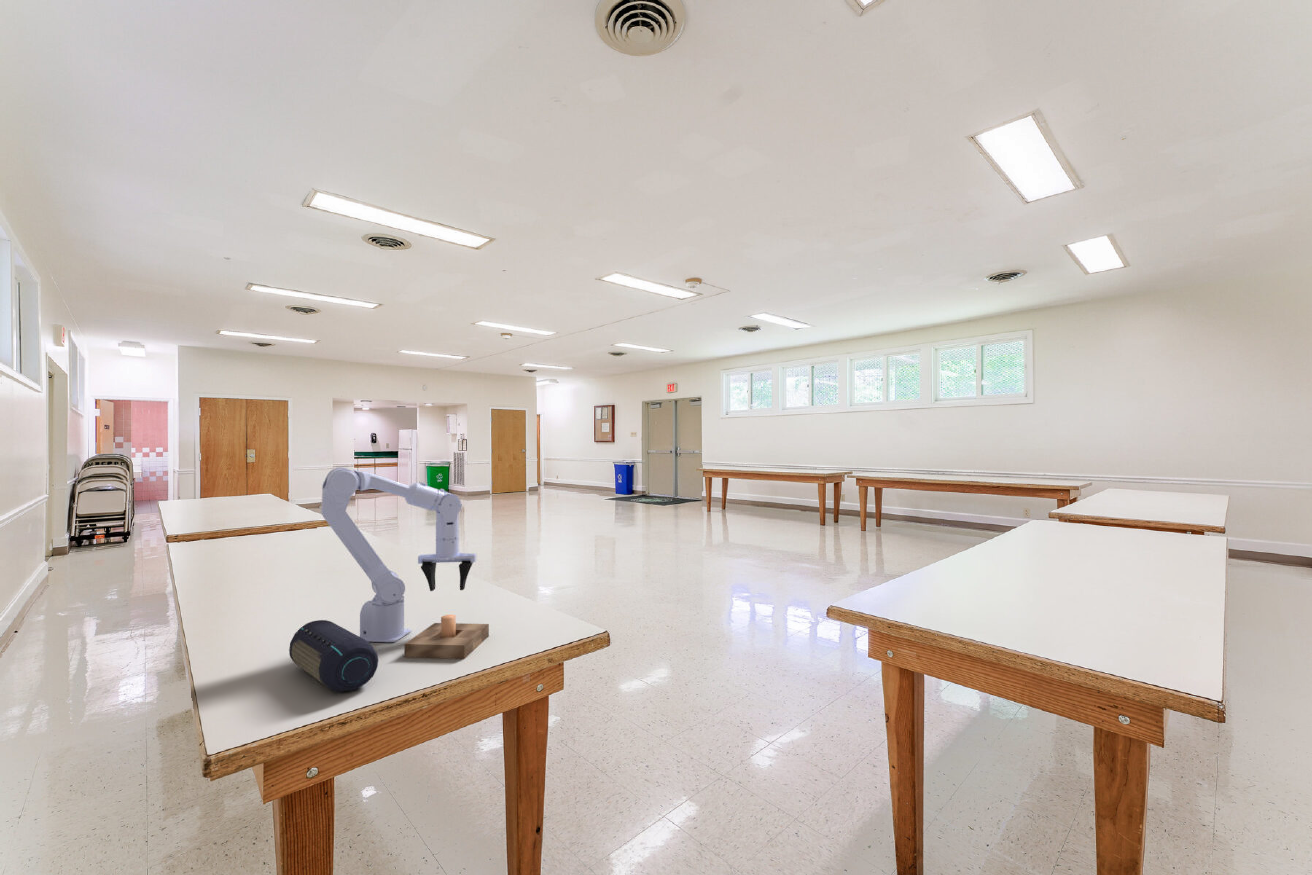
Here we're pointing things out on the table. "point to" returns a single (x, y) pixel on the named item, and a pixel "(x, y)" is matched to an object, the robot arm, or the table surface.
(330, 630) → the portable speaker
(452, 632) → the peg
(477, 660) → the table surface
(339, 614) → the table surface
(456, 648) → the socket block
